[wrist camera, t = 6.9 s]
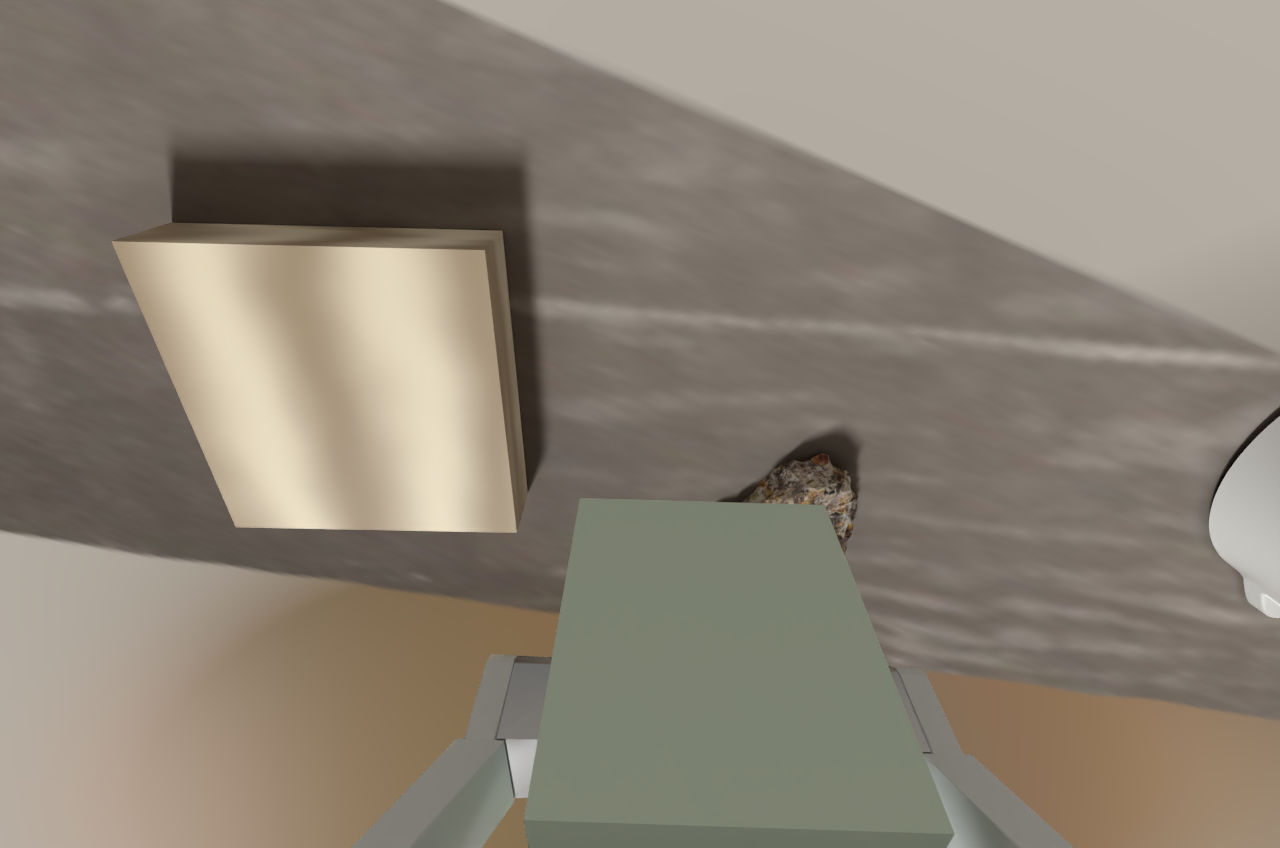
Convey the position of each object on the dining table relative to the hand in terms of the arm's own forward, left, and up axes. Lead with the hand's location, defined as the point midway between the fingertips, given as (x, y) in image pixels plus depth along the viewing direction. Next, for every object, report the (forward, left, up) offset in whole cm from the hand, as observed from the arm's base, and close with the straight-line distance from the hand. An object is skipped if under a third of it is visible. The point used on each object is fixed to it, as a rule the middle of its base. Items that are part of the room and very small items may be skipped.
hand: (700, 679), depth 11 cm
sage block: (0, 0, -2) cm, 2 cm away
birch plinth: (+13, +2, -17) cm, 21 cm away
